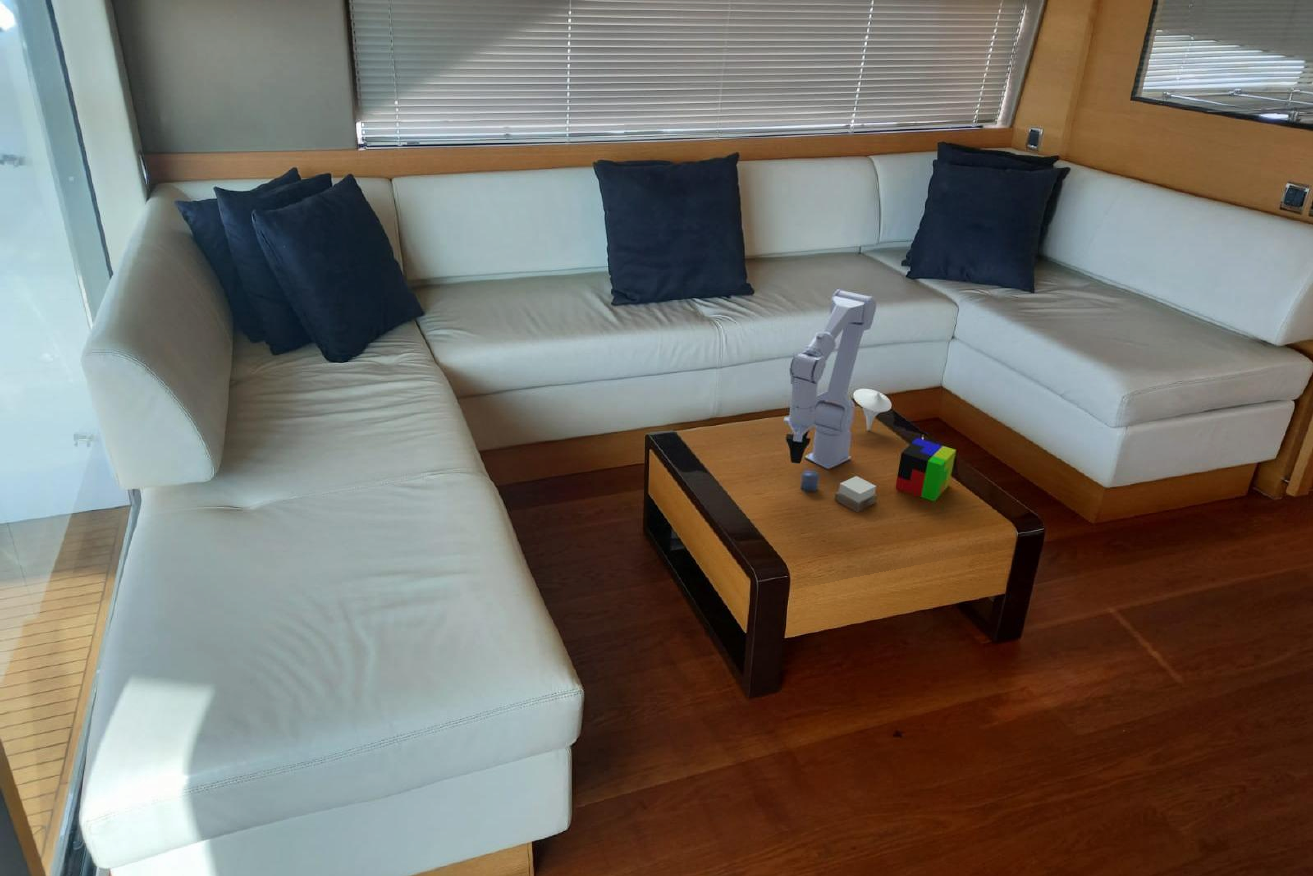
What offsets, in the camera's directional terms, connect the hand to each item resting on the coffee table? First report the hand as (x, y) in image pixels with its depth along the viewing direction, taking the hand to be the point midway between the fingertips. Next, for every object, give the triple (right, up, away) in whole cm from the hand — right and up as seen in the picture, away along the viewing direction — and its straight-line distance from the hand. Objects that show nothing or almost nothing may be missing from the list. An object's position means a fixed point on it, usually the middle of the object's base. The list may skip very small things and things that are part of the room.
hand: (797, 455), depth 223 cm
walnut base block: (+14, -12, 0) cm, 18 cm away
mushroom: (+25, +6, +35) cm, 44 cm away
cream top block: (+14, -9, -1) cm, 17 cm away
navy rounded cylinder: (+4, -8, +5) cm, 10 cm away
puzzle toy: (+32, -8, +8) cm, 34 cm away
